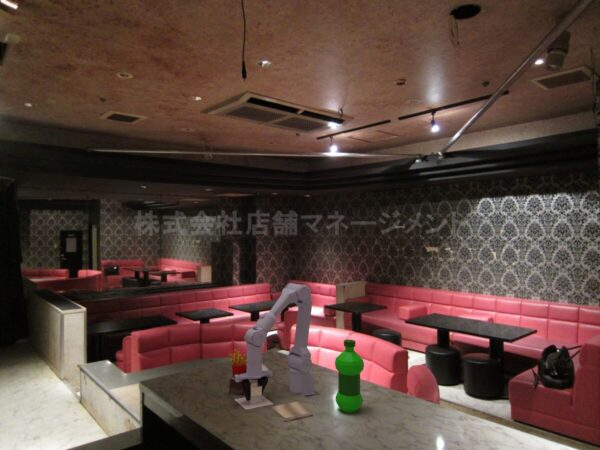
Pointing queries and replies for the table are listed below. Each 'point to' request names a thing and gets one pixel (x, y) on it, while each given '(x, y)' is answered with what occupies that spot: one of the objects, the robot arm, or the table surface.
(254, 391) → the block
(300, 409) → the stand
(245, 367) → the french fries
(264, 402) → the stand
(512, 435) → the table surface
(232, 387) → the box
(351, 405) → the plastic bottle
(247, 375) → the robot arm
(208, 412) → the table surface
